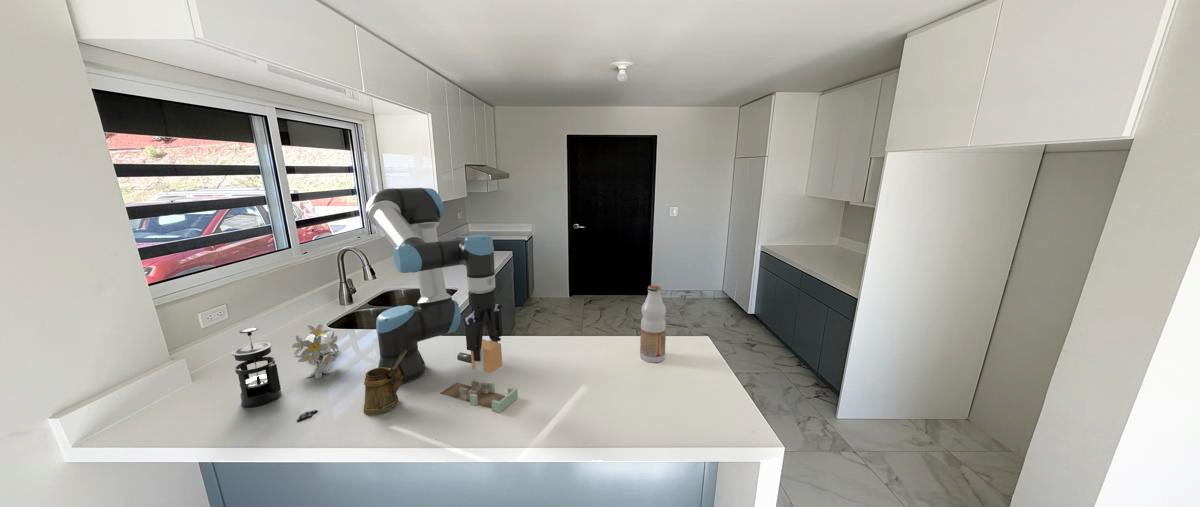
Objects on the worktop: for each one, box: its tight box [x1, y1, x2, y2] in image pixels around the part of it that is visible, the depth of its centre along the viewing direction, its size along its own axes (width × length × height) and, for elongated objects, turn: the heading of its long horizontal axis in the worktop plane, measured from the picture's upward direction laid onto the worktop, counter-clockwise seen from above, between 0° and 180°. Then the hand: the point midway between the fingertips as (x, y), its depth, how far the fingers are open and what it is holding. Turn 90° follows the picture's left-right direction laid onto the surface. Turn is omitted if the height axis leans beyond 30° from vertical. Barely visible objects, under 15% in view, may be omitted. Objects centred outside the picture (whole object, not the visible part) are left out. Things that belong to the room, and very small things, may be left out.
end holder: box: [469, 380, 519, 414], centre depth 114 cm, size 11×9×3 cm
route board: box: [439, 378, 516, 413], centre depth 116 cm, size 24×7×4 cm, turn 67°
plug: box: [456, 338, 503, 374], centre depth 112 cm, size 14×5×7 cm, turn 65°
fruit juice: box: [639, 284, 667, 364], centre depth 141 cm, size 9×9×28 cm
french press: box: [231, 327, 283, 409], centre depth 114 cm, size 12×9×23 cm
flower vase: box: [291, 324, 340, 379], centre depth 138 cm, size 13×18×25 cm
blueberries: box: [295, 409, 319, 423], centre depth 108 cm, size 7×8×2 cm
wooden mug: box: [363, 349, 407, 416], centre depth 111 cm, size 9×14×18 cm, turn 94°
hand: (487, 365), depth 111 cm, fingers closed on plug, 5 cm apart
